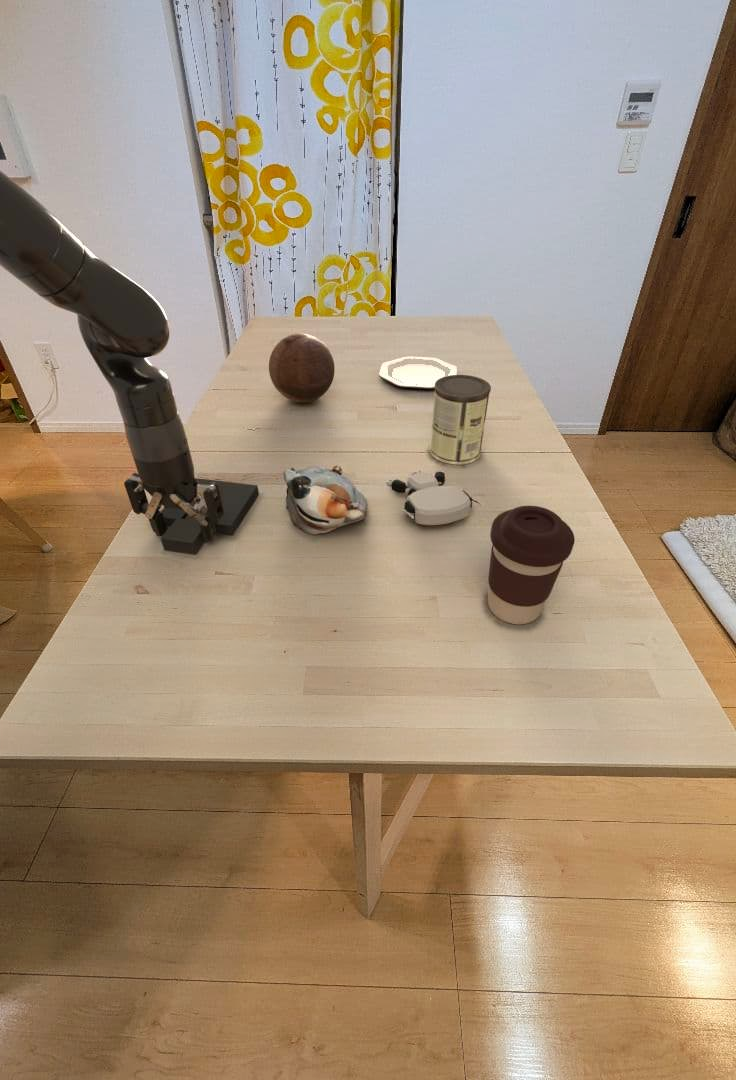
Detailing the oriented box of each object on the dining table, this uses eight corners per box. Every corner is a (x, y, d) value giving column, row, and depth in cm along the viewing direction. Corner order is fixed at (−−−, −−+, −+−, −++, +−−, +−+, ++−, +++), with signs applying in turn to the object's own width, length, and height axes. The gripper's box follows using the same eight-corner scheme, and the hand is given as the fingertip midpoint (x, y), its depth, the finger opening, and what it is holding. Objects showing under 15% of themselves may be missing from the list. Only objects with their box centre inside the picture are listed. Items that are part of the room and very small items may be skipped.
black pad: (164, 550, 81) (160, 538, 80) (188, 518, 88) (185, 507, 86) (196, 554, 81) (192, 543, 79) (218, 522, 87) (215, 511, 85)
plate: (456, 364, 141) (457, 358, 140) (455, 394, 126) (456, 388, 125) (385, 360, 143) (385, 355, 142) (375, 389, 128) (375, 384, 127)
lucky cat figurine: (381, 505, 90) (388, 466, 77) (345, 561, 86) (347, 529, 73) (308, 465, 92) (304, 420, 79) (270, 518, 88) (258, 480, 75)
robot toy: (382, 494, 94) (413, 539, 83) (381, 472, 92) (414, 516, 80) (443, 483, 97) (481, 524, 86) (444, 461, 95) (484, 501, 83)
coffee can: (443, 434, 110) (450, 370, 101) (488, 448, 106) (499, 382, 97) (419, 455, 104) (424, 388, 95) (466, 470, 99) (476, 401, 90)
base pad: (159, 526, 86) (156, 516, 85) (192, 486, 95) (189, 477, 94) (232, 535, 84) (230, 526, 83) (259, 494, 93) (257, 485, 92)
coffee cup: (539, 644, 67) (567, 558, 57) (467, 616, 71) (482, 530, 61) (557, 596, 74) (586, 511, 64) (490, 573, 77) (508, 489, 68)
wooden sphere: (348, 398, 124) (347, 334, 114) (301, 419, 116) (295, 352, 106) (307, 381, 132) (302, 320, 122) (260, 399, 124) (250, 335, 114)
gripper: (97, 454, 70) (132, 546, 81) (195, 465, 68) (218, 558, 78) (127, 428, 76) (156, 517, 86) (219, 437, 74) (237, 528, 84)
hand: (186, 536), depth 82 cm, fingers open, 7 cm apart
